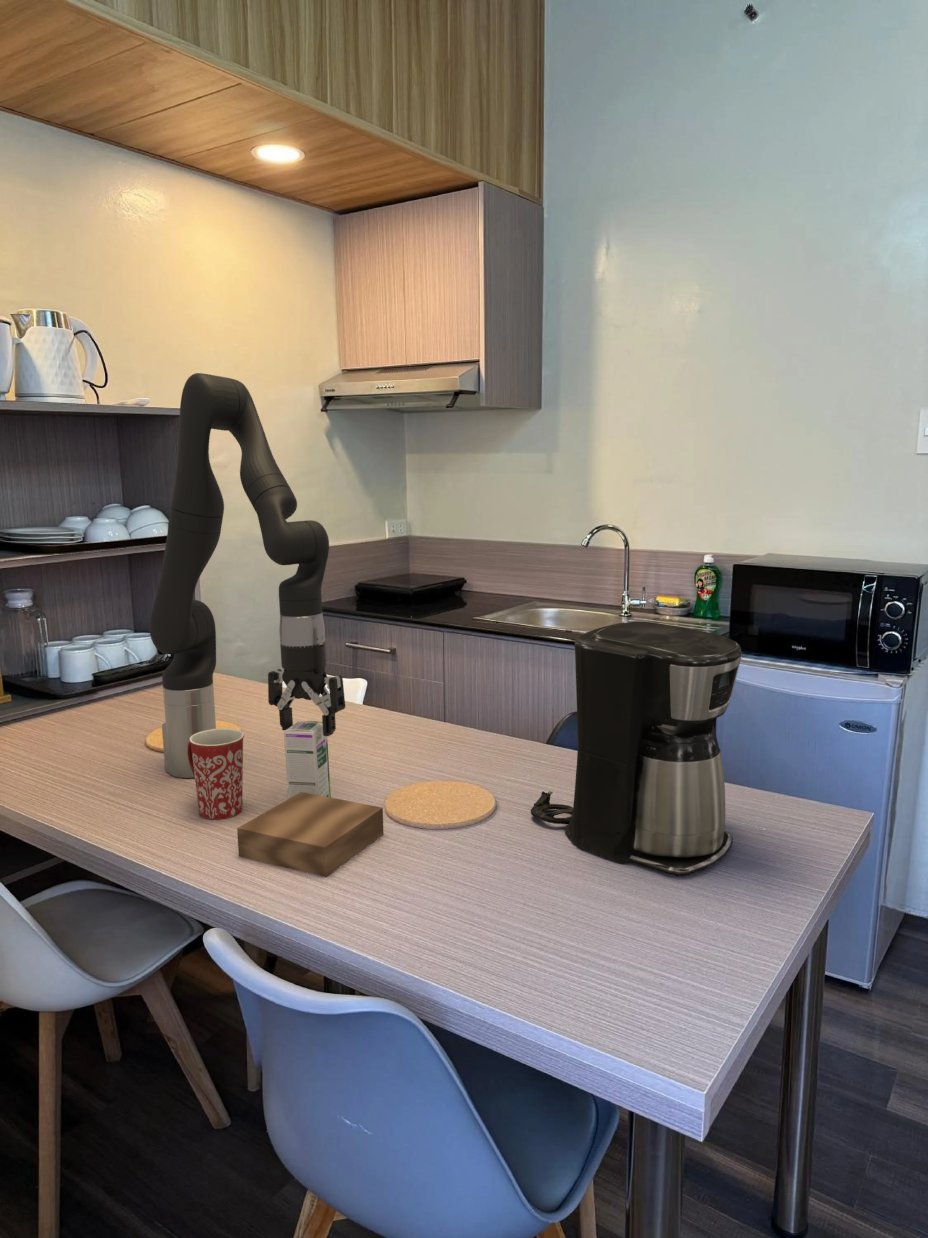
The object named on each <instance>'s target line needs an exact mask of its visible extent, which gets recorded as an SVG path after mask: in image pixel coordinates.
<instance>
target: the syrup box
mask: <svg viewBox="0 0 928 1238" xmlns="http://www.w3.org/2000/svg"><path fill="white" fill-rule="evenodd" d="M283 738H284V739H283V740H284V752H285V753H284V755H285V756H284V757H285V770H286V783H287V784H286V785H287V797H288V798H287V799H289V798H291V797H293V796H295V795H296V794H298V793H300V792H304V793H309V794H314V795H319V796H325V797H330V798H332V797H331V796H332V795H331V794H332V793H331V780H330V778H331V777H330V776H331V775H330V760H329V745H328V736H324V735H323V723H322V721H318V720H317V721H316V720H297V721H296V722H295V723H293V725H292V726H291V727H289V728H288V729H287V730H283Z"/></svg>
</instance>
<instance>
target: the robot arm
mask: <svg viewBox="0 0 928 1238" xmlns="http://www.w3.org/2000/svg"><path fill="white" fill-rule="evenodd" d="M180 397H181V398H180V406H179V422H178V423H179V425H178V447H177V448H178V449H177V457H176V459H177V460H176V461H177V462H176V470H175V477H174V487H173V491H172V497H171V503H170V510H169V516H168V524H167V534H166V542H165V547H164V548H165V549H164V553H163V560H162V567H161V573H160V577H159V583H158V586H157V590H156V595H155V598H154V601H153V605H152V610H151V614H150V618H149V635H150V639H151V641H152V644H153V646H154V647H155V648H156V649H157V650H158V651H159V652H160V653H163V654H165V655H174V656H173V659H172V661H171V662H170V663H169V665H168V666H167V667H166V668H165V669H164V671H163V672H162V677H161V681H162V682H161V683H162V691H163V692H162V693H163V706H164V718H165V722H164V723H163V724H162V725H161V730H162V731H161V732H162V745H163V758H164V771H165V772H166V773H167V772H168V773H169V774H170V775H171V776H172V777H176V778H181V779H182V778H184V779H185V778H186V779H188V778H189V779H191V778H195V777H194V775H193V772H192V770H191V767H190V764H189V759H188V752H187V749H188V743H189V739H190V737H191V736H192V735H194V734H196V733H198V732H202V731H206V730H211V729H217V724H216V723H217V722H216V710H215V709H216V706H215V693H214V673H215V670H216V665H217V632H216V631H217V630H216V629H217V628H216V623H215V617H214V615H213V612H212V611H211V609H210V608H209V606H208V605H207V604H205V603H204V602H203V601H201V600H198V599H194V595H195V592H196V587H197V584H198V582H199V579H200V578H201V575H202V574H203V571H204V570H205V568H206V566H207V565H208V563H209V561H210V560H211V559H212V556H213V554H214V552H215V551H216V548H217V546H218V543H219V541H220V536H221V532H222V525H223V521H224V519H223V518H224V514H225V513H224V512H225V503H224V502H225V501H224V497H223V494H222V491H221V488H220V486H219V484H218V482H217V481H218V480H217V478H216V477H215V474H214V471H213V469H212V465H211V462H210V453H209V452H210V439H211V438H210V437H211V430H216V431H217V430H218V431H228V432H229V433H230V434H231V435H232V437H233V438H234V439H235V441H236V442H237V443H238V445H239V446H240V449H241V457H240V458H241V460H240V467H239V478H240V482H241V485H242V488H243V491H244V493H245V495H246V496H247V498H248V500H249V503H250V504H251V506H252V508H253V509H254V511H255V513H256V515H257V520H258V524H259V528H260V533H261V537H262V542H263V548H264V550H265V554H266V555H267V556H268V558H270V560H272V562H274V563H275V564H277V565H279V566H292V565H293V566H294V565H298V566H297V569H296V572H295V574H294V575H292V576H290V577H288V578H286V579H284V580H282V581H281V582H280V583H279V586H278V603H279V604H278V605H279V625H278V626H279V628H278V629H279V631H278V632H279V643H280V644H279V645H280V659H281V660H280V661H281V662H280V663H281V668H282V669H283V671H282V669H281V668H277V669H275V670H272V671H269V672H268V673H267V688H268V689H267V691H268V692H267V693H268V695H267V696H268V699H267V701H268V705H270V706H274V707H276V708H277V710H278V713H279V725H280V727H281V730H282V731H285V730H287V729H288V728H289V727H291V726H292V725H294V720H293V707H291V705H293V702H294V701H295V699H298V700H300V699H304V700H306V701H312V703H313V704H314V705H315V706H318V708H319V710H320V711H321V712H322V716H321V718H322V719H321V720H322V721H321V722H322V723H323V735H324V736H327V737H330V736H331V735H333V734H334V733H335V731H336V728H337V726H336V714H337V713H338V712H341V711H343V710H345V709H346V701H345V700H346V699H345V691H344V690H345V689H344V680H343V676H342V674H337V675H335V676H328V675H327V673H326V667H327V647H326V627H325V622H324V616H323V604H322V603H323V602H322V601H323V600H322V587H323V582H324V576H325V571H326V567H327V562H328V558H329V550H330V540H329V535H328V533H327V531H326V529H325V527H324V526H323V525H322V524H321V523H320V522H319V521H316V520H309V519H308V520H299V521H298V520H297V521H296V520H295V521H287V519H290V517H292V516H293V515H294V513H295V512H296V511H297V508H298V500H297V498H296V495H295V494H294V491H293V490H292V488H291V486H290V485H289V483H288V481H287V480H286V477H285V476H284V474H283V472H282V470H281V469H280V468H279V465H278V464H277V462H276V460H275V458H274V455H273V453H272V449H271V447H270V444H269V442H268V438H267V436H266V433H265V429H264V427H263V424H262V422H261V418H260V416H259V413H258V410H257V408H256V405H255V403H254V399H253V396H252V395H251V393H250V391H249V389H248V388H247V387H246V386H245V384H244V383H243V382H241V381H240V380H237V379H236V378H235V379H234V378H232V377H231V378H230V377H226V376H220V375H214V374H208V373H204V372H203V373H202V372H195V373H193V374H192V375H190V376H189V377H188V378H187V379H186V381H185V383H184V385H183V388H182V391H181V396H180ZM283 683H284V685H286V687H285V689H284V691H283ZM326 686H327V687H326ZM328 690H329V691H328ZM320 695H321V696H320Z"/></svg>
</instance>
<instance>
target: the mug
mask: <svg viewBox="0 0 928 1238" xmlns="http://www.w3.org/2000/svg"><path fill="white" fill-rule="evenodd" d="M244 738H245V733H244V732H243V731H241V730H238V729H234V728H216V729H211V730H206V731H202V732H198V733H196V734H194V735H192V736H191V737H190V739H189V743H188V749H187V752H188V759H189V764H190V767H191V770H192V772H193V775H194V777H193V778H194V780H195V781H194V783H195V788H196V789H195V791H196V799H197V807H198V808H197V811H198V813H199V816H201V817H202V818H205V819H207V820H222V819H228V818H232V817H235V816H237V815H239V814H240V813H241V812H242V811H243V804H244V802H243V799H244V797H243V796H244V795H243V784H244V783H243V782H244V780H243V779H244V777H243V774H244V773H243V772H244V769H243V768H244Z"/></svg>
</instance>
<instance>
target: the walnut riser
mask: <svg viewBox="0 0 928 1238" xmlns="http://www.w3.org/2000/svg"><path fill="white" fill-rule="evenodd" d="M236 829H237V831H236V832H237V833H236V835H237V848H238V849H237V850H238V851H237V852H238V857H239V858H244V859H248V860H251V861H256V862H260V863H265V864H268V865H272V866H278V867H282V868H286V869H289V870H295V871H299V872H302V873H303V872H304V873H307V872H308V873H307V874H311V875H315V876H319V875H320V877H323V876H325V877H324V878H327V877H329V876H330V875H331V874H333V872H335V871H337V869H340V866H341V867H342V866H344V864H346V863H347V862H349V861H350V860H351V859H353V858H354V857H355V856H356V855H358V854H359V853H361V852H362V851H363V850H364V849H366V848H368V846H369V847H370V845H371V844H373V843H374V842H375V841H377V840H378V839H379V838H381V837H382V836H384V808H383V807H382V806H377V805H373V804H372V805H371V804H365V803H363V802H362V803H360V802H355V801H350V800H344V799H340V798H335V797H331V798H330V797H325V796H319V795H314V794H309V793H304V792H300V793H298V794H296V795H295V796H293V797H291V798H289V799H288V798H287V799H286V800H284V801H282V802H281V803H279V804H277V805H275V806H272V808H270V809H268V810H266V811H264V812H263V813H261V814H260V815H258V816H256V817H254V818H252V819H250V820H249V821H247V822H245V823H243V824H242V825H240V826H237V827H236Z"/></svg>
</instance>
